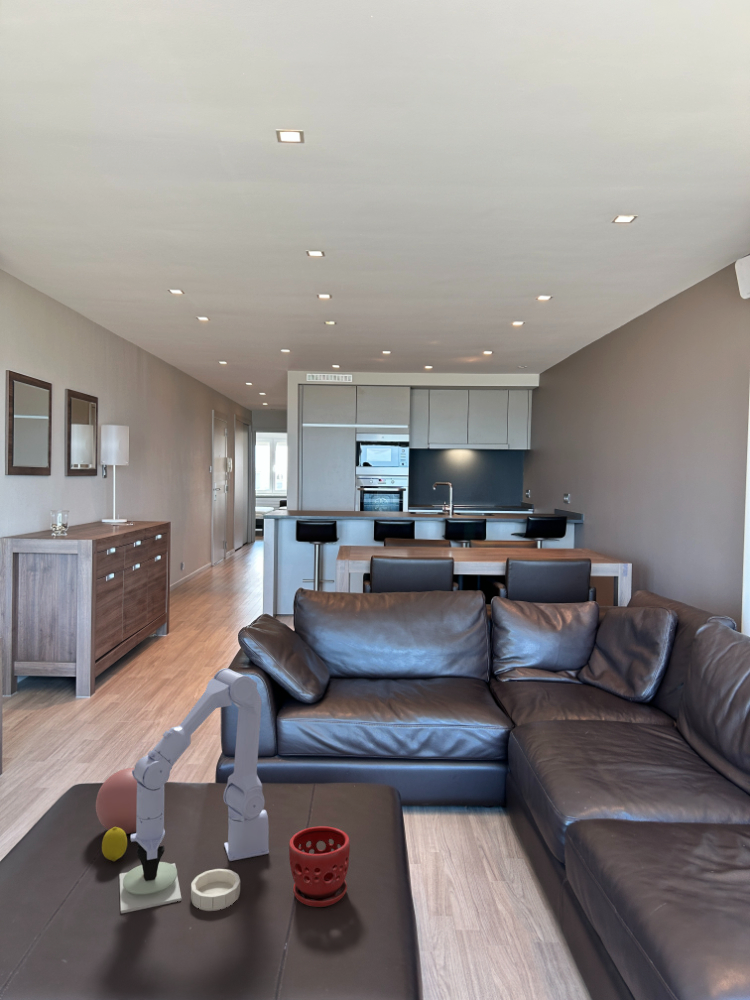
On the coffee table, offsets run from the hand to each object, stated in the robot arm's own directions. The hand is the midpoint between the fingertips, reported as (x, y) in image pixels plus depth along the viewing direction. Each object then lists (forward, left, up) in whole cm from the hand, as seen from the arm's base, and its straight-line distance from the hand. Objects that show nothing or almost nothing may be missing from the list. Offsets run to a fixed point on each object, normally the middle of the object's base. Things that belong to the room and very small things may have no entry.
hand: (149, 875), depth 144 cm
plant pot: (-34, +15, -3) cm, 37 cm away
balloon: (+3, -30, -3) cm, 30 cm away
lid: (0, 0, -1) cm, 1 cm away
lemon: (+7, -14, -3) cm, 16 cm away
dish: (-13, +8, -3) cm, 16 cm away
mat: (0, 0, -3) cm, 3 cm away
